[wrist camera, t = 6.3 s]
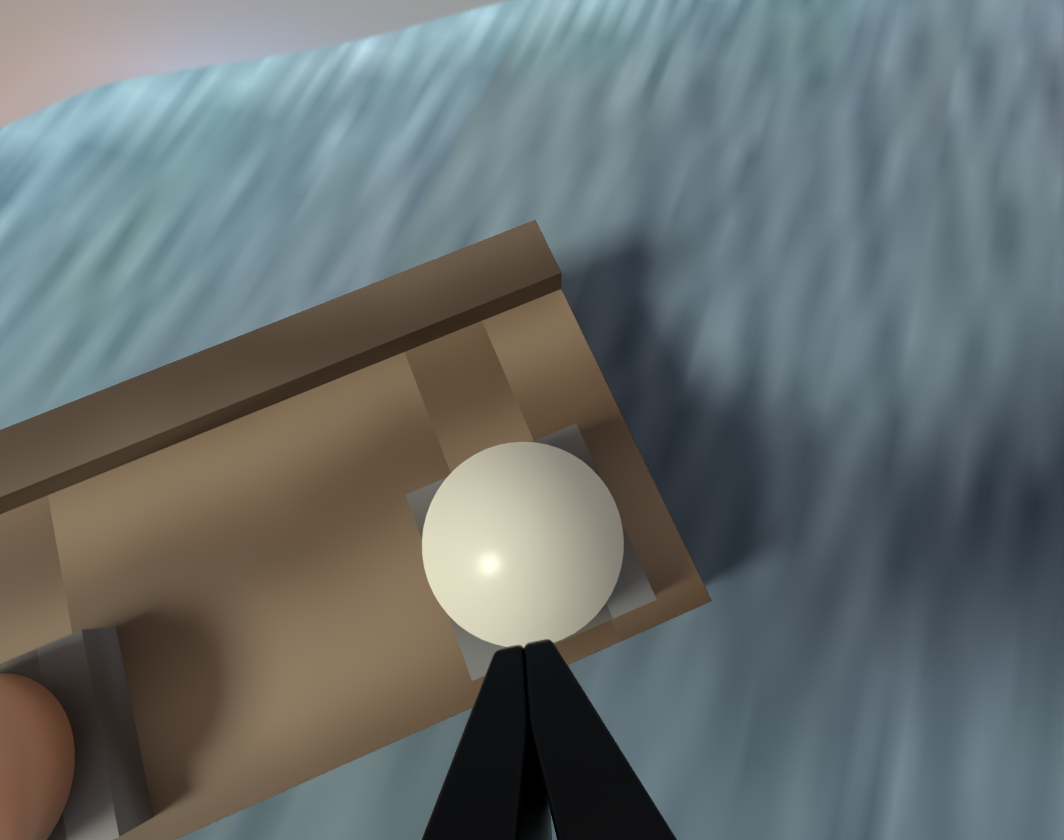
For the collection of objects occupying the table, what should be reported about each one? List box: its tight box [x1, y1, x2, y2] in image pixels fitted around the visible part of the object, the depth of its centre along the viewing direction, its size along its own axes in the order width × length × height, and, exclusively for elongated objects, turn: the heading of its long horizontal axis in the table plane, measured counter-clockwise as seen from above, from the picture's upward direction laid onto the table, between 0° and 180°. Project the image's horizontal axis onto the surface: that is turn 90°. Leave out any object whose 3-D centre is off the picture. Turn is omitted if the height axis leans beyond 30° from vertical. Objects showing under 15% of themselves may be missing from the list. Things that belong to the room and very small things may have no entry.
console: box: [0, 220, 712, 840], centre depth 18 cm, size 12×22×5 cm, turn 113°
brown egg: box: [0, 673, 75, 840], centre depth 15 cm, size 5×5×6 cm
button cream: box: [422, 442, 624, 647], centre depth 16 cm, size 5×5×6 cm
